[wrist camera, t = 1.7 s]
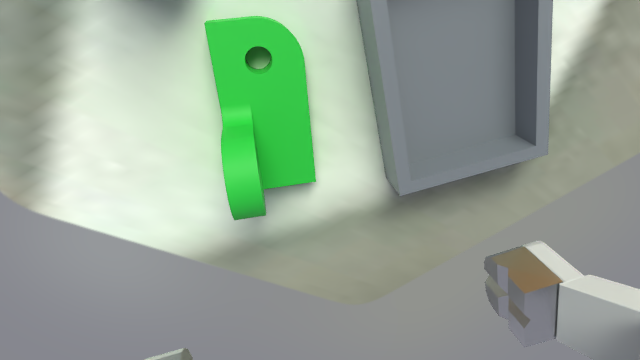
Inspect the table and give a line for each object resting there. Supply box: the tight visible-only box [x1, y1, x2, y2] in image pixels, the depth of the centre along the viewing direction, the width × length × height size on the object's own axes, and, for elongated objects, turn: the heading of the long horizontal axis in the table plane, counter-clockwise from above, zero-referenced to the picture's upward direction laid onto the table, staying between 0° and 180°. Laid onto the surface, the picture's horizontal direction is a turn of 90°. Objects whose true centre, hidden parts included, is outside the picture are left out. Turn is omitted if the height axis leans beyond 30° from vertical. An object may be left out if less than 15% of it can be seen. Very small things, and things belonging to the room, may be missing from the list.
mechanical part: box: [204, 16, 316, 220], centre depth 27 cm, size 12×6×8 cm, turn 5°
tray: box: [357, 0, 553, 196], centre depth 30 cm, size 12×17×4 cm
